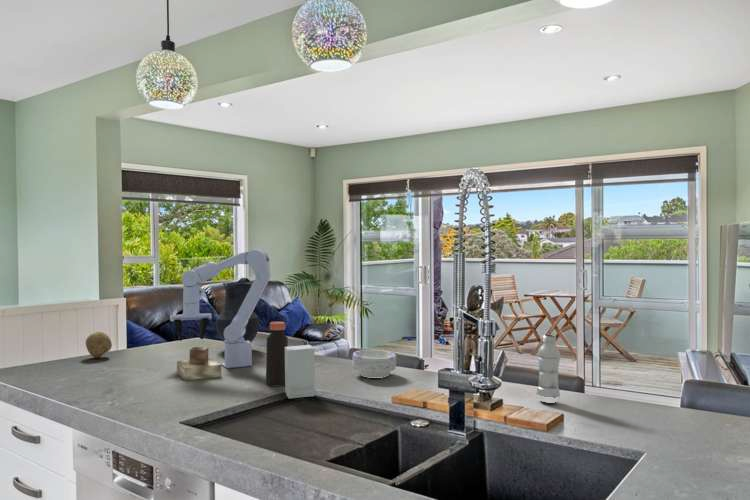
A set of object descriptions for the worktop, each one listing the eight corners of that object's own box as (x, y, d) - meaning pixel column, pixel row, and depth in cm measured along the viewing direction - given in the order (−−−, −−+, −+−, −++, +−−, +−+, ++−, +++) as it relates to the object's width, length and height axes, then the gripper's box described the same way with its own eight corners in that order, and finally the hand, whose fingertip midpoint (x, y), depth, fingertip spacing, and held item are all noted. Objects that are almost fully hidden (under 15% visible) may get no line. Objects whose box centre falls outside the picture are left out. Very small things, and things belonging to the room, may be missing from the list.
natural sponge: (104, 354, 226) (104, 329, 226) (116, 357, 221) (116, 331, 221) (81, 358, 219) (81, 332, 219) (93, 361, 214) (93, 334, 213)
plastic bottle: (548, 407, 165) (549, 338, 164) (531, 401, 171) (533, 334, 170) (564, 404, 168) (566, 336, 167) (547, 398, 174) (549, 333, 173)
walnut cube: (208, 361, 198) (208, 347, 198) (204, 364, 193) (204, 350, 193) (193, 361, 198) (193, 347, 198) (189, 364, 193) (189, 349, 193)
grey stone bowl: (402, 379, 194) (403, 356, 194) (360, 382, 189) (360, 358, 189) (386, 369, 208) (386, 348, 208) (346, 372, 203) (347, 350, 203)
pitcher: (208, 353, 232) (209, 279, 232) (229, 343, 253) (230, 276, 252) (249, 355, 230) (250, 280, 229) (267, 345, 250) (268, 277, 249)
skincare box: (310, 391, 177) (311, 344, 176) (315, 397, 171) (316, 347, 171) (283, 394, 174) (284, 345, 173) (287, 399, 168) (288, 349, 168)
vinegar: (261, 383, 185) (262, 322, 185) (278, 380, 190) (279, 320, 190) (274, 387, 181) (275, 324, 180) (291, 384, 186) (292, 322, 185)
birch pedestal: (211, 369, 204) (211, 357, 204) (221, 376, 194) (221, 364, 194) (176, 372, 198) (177, 361, 198) (184, 380, 188) (184, 368, 188)
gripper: (208, 300, 217) (207, 336, 217) (168, 302, 210) (168, 339, 210) (213, 302, 211) (212, 339, 211) (172, 304, 204) (172, 342, 204)
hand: (190, 339), depth 210 cm, fingers open, 7 cm apart
